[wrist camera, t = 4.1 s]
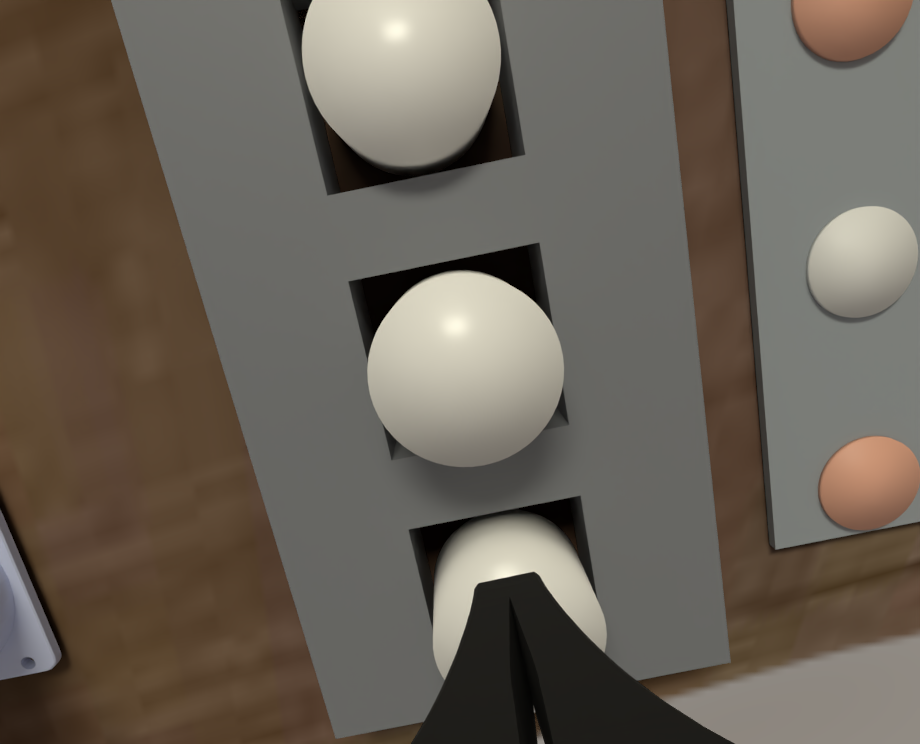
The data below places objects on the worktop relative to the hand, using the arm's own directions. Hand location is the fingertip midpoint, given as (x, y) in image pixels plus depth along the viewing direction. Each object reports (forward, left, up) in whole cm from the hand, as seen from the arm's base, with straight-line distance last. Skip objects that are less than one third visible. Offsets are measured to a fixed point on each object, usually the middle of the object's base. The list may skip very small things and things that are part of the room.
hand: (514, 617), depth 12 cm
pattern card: (+14, +5, -8) cm, 17 cm away
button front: (0, +13, -8) cm, 15 cm away
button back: (0, -3, -7) cm, 7 cm away
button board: (0, +5, -8) cm, 10 cm away
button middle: (0, +5, -7) cm, 8 cm away
